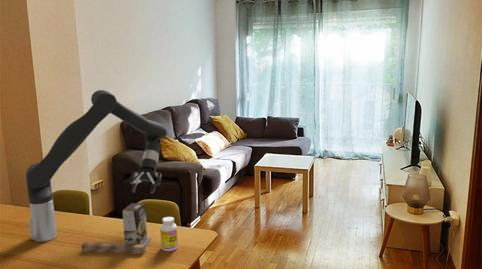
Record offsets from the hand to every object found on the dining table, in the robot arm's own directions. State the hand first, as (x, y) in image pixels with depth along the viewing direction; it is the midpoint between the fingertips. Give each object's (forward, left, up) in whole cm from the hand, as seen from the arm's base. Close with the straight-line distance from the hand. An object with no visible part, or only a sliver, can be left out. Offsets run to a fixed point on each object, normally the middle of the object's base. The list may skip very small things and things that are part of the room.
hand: (142, 192), depth 180 cm
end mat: (+2, -16, -18) cm, 24 cm away
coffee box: (+2, -15, -17) cm, 23 cm away
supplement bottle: (+17, -18, -18) cm, 30 cm away
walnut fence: (-5, -23, -18) cm, 29 cm away
